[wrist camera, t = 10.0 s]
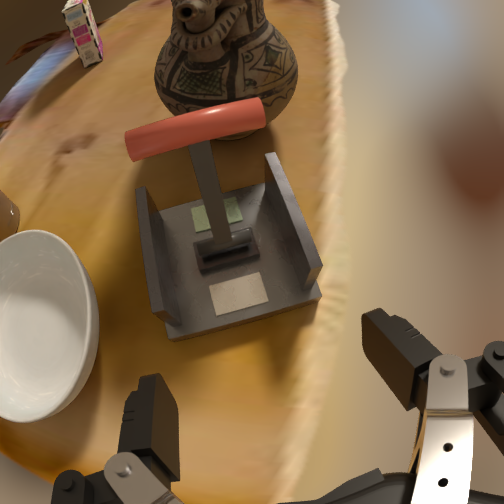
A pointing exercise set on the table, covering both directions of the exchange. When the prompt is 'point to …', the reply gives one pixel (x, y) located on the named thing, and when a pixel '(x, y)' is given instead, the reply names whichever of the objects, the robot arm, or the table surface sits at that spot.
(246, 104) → the switch lever
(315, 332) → the table surface
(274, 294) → the switch box
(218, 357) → the table surface
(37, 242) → the serving bowl
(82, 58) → the candy bar box
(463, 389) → the robot arm
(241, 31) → the decorative pitcher
